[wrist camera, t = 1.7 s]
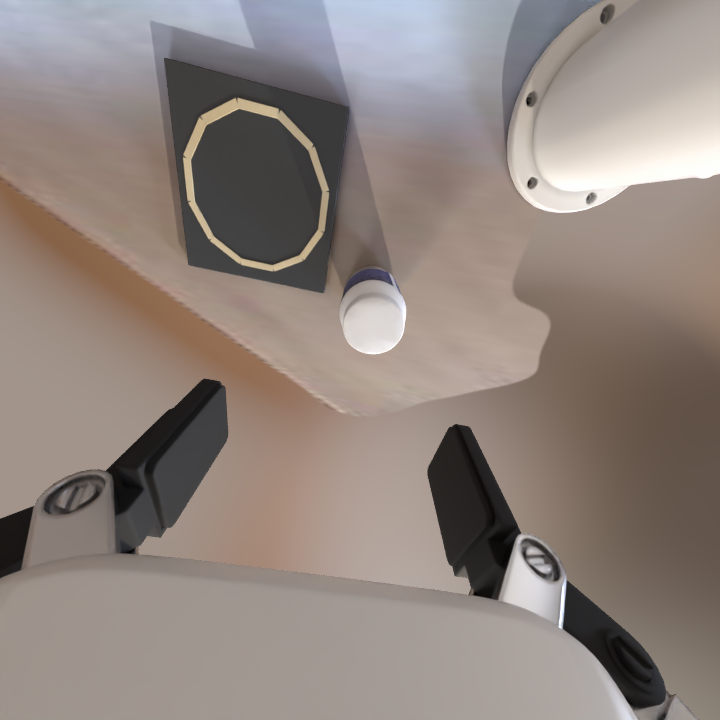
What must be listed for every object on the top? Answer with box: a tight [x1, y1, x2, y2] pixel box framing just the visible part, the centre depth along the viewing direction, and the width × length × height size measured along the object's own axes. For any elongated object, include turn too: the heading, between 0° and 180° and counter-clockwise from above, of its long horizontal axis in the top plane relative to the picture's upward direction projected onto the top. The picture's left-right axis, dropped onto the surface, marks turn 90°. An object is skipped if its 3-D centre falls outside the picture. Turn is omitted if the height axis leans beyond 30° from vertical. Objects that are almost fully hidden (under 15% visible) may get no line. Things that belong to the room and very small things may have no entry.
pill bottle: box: [339, 266, 406, 354], centre depth 23 cm, size 6×6×10 cm
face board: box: [164, 58, 349, 293], centre depth 23 cm, size 14×15×1 cm
